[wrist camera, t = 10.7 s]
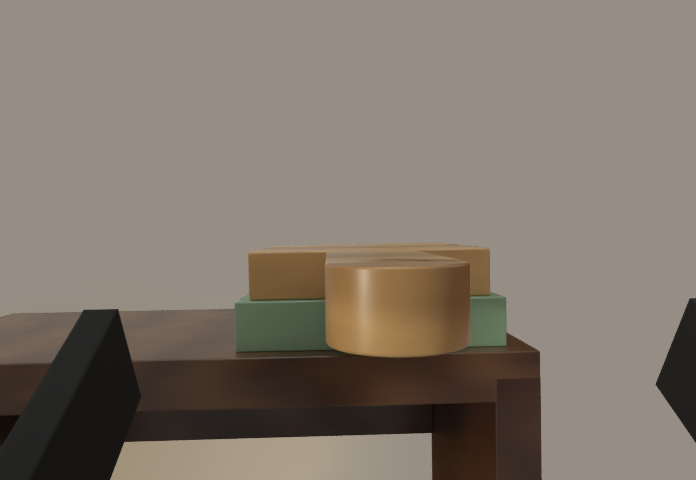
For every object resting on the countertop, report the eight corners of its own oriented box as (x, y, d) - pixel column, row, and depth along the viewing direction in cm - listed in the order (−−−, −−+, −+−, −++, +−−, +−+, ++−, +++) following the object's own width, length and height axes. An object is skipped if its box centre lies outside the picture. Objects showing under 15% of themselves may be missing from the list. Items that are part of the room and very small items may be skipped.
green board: (235, 352, 22) (234, 302, 22) (268, 310, 34) (267, 277, 34) (506, 345, 23) (506, 297, 23) (445, 306, 35) (444, 274, 35)
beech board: (273, 279, 33) (272, 245, 33) (441, 276, 33) (441, 243, 33) (176, 363, 12) (174, 271, 12) (633, 353, 12) (632, 262, 12)
